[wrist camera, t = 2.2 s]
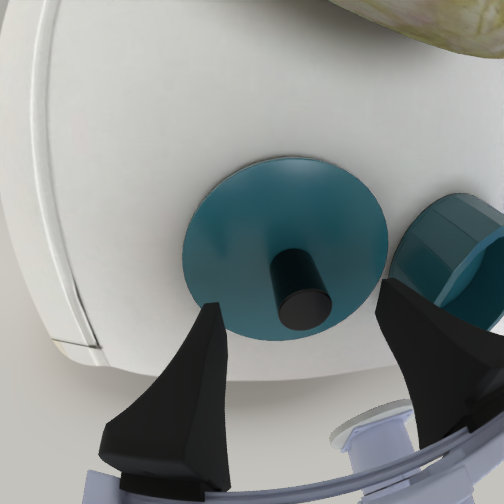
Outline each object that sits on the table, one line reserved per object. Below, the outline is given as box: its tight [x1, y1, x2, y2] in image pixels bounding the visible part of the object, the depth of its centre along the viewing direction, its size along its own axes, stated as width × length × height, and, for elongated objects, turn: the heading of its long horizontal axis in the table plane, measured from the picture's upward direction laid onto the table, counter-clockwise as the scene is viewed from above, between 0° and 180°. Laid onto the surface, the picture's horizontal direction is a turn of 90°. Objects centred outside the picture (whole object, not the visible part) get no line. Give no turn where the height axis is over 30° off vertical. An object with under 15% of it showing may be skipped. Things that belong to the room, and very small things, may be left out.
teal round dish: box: [389, 193, 504, 331], centre depth 14 cm, size 10×10×5 cm
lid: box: [182, 157, 388, 341], centre depth 13 cm, size 11×11×5 cm
